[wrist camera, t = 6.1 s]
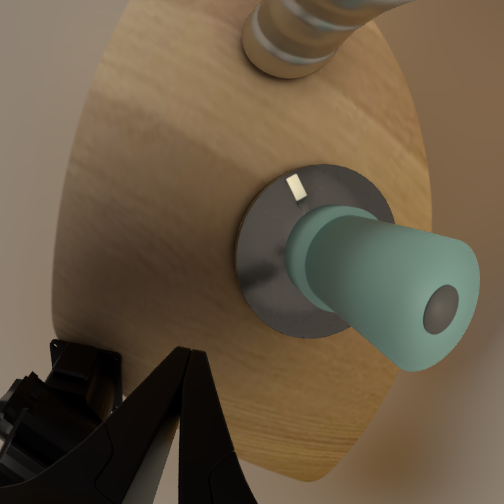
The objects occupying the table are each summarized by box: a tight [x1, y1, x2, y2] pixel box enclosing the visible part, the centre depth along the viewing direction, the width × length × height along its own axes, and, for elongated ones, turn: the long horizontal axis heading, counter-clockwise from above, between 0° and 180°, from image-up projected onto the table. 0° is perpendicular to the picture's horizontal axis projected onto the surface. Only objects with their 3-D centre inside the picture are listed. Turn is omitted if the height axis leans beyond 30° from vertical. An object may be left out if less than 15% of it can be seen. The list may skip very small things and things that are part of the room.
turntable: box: [234, 164, 395, 338], centre depth 22 cm, size 13×13×1 cm
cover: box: [285, 204, 480, 371], centre depth 16 cm, size 7×7×11 cm
